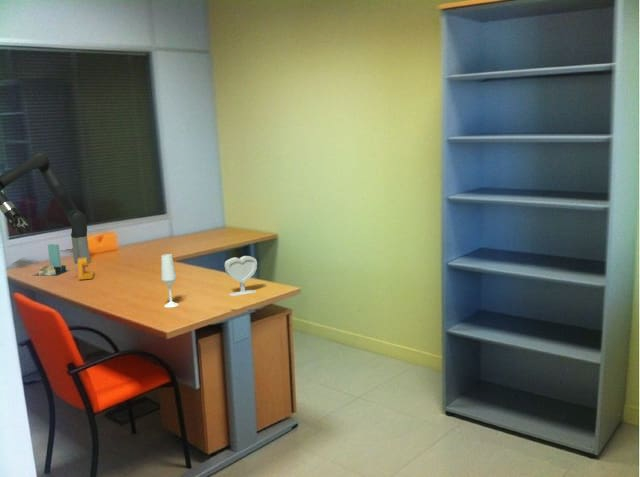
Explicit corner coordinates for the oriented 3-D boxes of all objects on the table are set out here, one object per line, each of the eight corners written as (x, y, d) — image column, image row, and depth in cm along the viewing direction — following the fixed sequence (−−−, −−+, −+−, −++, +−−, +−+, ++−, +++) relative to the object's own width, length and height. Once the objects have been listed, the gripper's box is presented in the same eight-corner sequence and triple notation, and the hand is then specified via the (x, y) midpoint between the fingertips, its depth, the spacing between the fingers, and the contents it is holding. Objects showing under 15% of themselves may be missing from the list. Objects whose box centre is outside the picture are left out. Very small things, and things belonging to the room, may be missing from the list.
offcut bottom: (39, 275, 356) (38, 271, 356) (43, 273, 360) (43, 269, 359) (51, 275, 354) (50, 271, 354) (55, 273, 358) (55, 269, 357)
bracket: (92, 279, 344) (90, 258, 342) (79, 281, 343) (76, 260, 341) (95, 275, 355) (92, 255, 353) (82, 276, 353) (79, 256, 351)
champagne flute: (161, 307, 286) (156, 256, 281) (169, 302, 292) (164, 253, 287) (173, 307, 283) (168, 257, 279) (181, 303, 289) (177, 253, 285)
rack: (32, 277, 356) (31, 270, 355) (47, 271, 369) (46, 265, 368) (56, 278, 352) (55, 271, 351) (70, 272, 365) (70, 265, 364)
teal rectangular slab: (51, 271, 364) (47, 245, 361) (53, 270, 366) (49, 244, 363) (59, 271, 363) (56, 245, 360) (61, 270, 365) (58, 244, 362)
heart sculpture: (229, 296, 298) (226, 260, 294) (226, 294, 302) (223, 258, 299) (259, 291, 304) (257, 256, 301) (255, 289, 309) (253, 254, 305)
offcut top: (39, 271, 355) (39, 266, 355) (43, 269, 359) (42, 265, 358) (50, 271, 354) (50, 266, 354) (54, 269, 358) (53, 265, 357)
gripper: (7, 207, 353) (25, 230, 354) (20, 205, 367) (37, 227, 368) (-3, 215, 353) (15, 238, 355) (11, 213, 368) (28, 235, 369)
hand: (26, 232), depth 361 cm, fingers open, 8 cm apart
